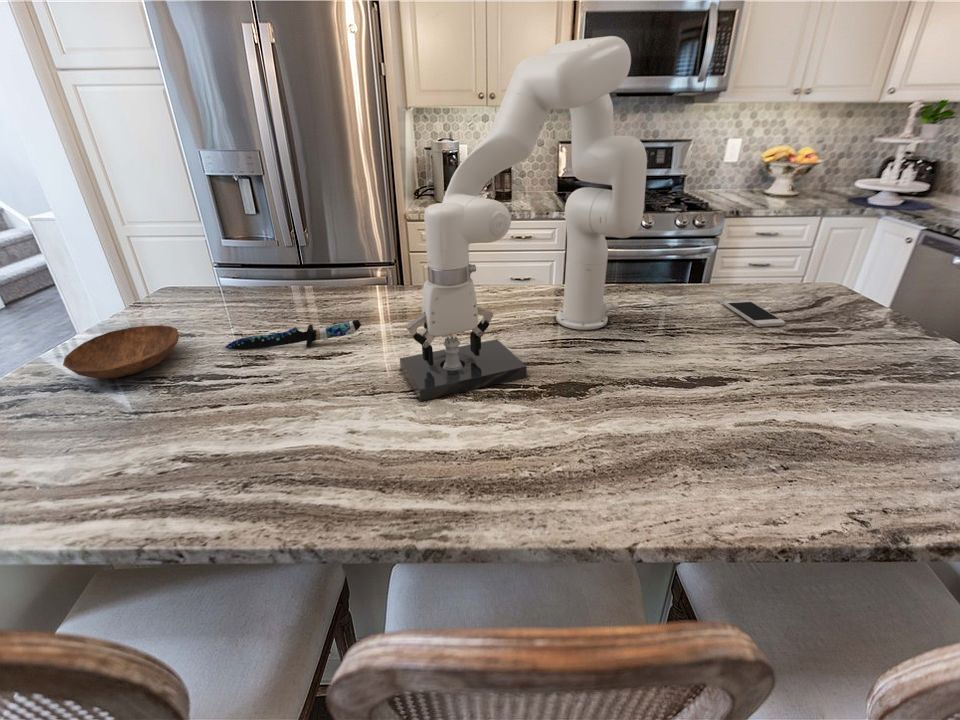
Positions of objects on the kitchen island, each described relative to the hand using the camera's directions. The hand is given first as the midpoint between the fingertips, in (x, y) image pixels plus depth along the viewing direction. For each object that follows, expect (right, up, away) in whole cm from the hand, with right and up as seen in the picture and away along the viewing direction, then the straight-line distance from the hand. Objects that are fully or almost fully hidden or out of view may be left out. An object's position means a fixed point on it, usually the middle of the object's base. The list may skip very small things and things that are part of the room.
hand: (452, 357), depth 99 cm
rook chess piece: (0, -4, +2) cm, 4 cm away
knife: (-37, +3, +15) cm, 40 cm away
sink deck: (+2, -3, +3) cm, 4 cm away
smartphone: (+74, +11, +27) cm, 80 cm away
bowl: (-69, -2, +7) cm, 69 cm away
